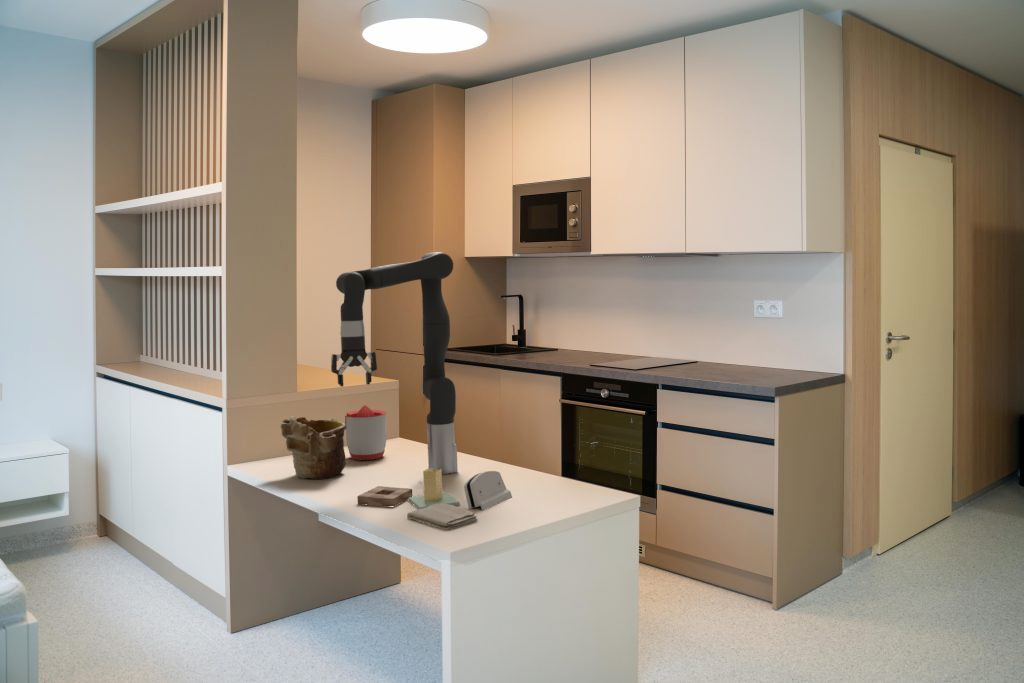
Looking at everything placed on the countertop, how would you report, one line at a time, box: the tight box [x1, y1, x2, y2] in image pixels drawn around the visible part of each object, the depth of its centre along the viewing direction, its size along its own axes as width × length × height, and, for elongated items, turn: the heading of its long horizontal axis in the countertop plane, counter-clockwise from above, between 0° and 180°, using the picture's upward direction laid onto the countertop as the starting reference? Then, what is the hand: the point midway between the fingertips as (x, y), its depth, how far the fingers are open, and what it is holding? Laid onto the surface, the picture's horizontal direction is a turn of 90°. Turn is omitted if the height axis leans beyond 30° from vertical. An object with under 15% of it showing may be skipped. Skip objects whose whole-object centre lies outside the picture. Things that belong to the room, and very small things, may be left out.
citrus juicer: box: [343, 404, 388, 461], centre depth 309 cm, size 16×17×20 cm
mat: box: [407, 492, 461, 509], centre depth 245 cm, size 12×12×1 cm
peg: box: [422, 468, 443, 502], centre depth 244 cm, size 4×4×9 cm
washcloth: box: [406, 503, 478, 531], centre depth 228 cm, size 12×18×3 cm, turn 46°
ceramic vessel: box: [280, 415, 347, 480], centre depth 283 cm, size 23×24×25 cm
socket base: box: [357, 485, 414, 507], centre depth 249 cm, size 12×12×2 cm
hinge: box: [463, 470, 513, 511], centre depth 244 cm, size 17×5×10 cm, turn 149°
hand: (355, 385), depth 264 cm, fingers open, 8 cm apart
